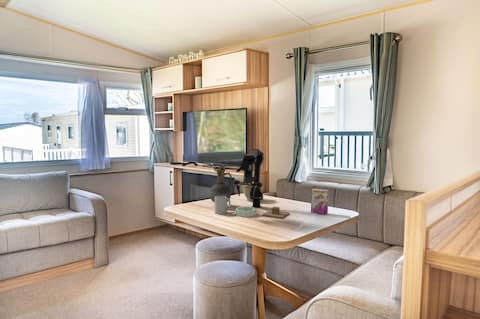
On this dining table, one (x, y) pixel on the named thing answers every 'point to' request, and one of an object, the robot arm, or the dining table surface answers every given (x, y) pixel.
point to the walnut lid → (275, 213)
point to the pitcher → (220, 185)
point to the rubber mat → (277, 218)
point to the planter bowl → (248, 192)
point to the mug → (221, 204)
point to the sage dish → (245, 211)
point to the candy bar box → (319, 201)
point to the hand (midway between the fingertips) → (246, 197)
